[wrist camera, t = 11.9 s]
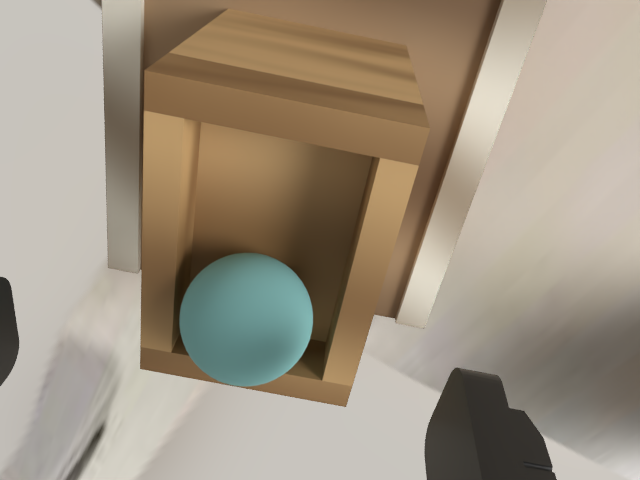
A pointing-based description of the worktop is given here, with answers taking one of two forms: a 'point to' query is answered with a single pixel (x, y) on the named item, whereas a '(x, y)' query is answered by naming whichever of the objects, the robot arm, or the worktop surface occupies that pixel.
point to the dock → (363, 20)
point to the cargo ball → (246, 319)
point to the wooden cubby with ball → (277, 180)
